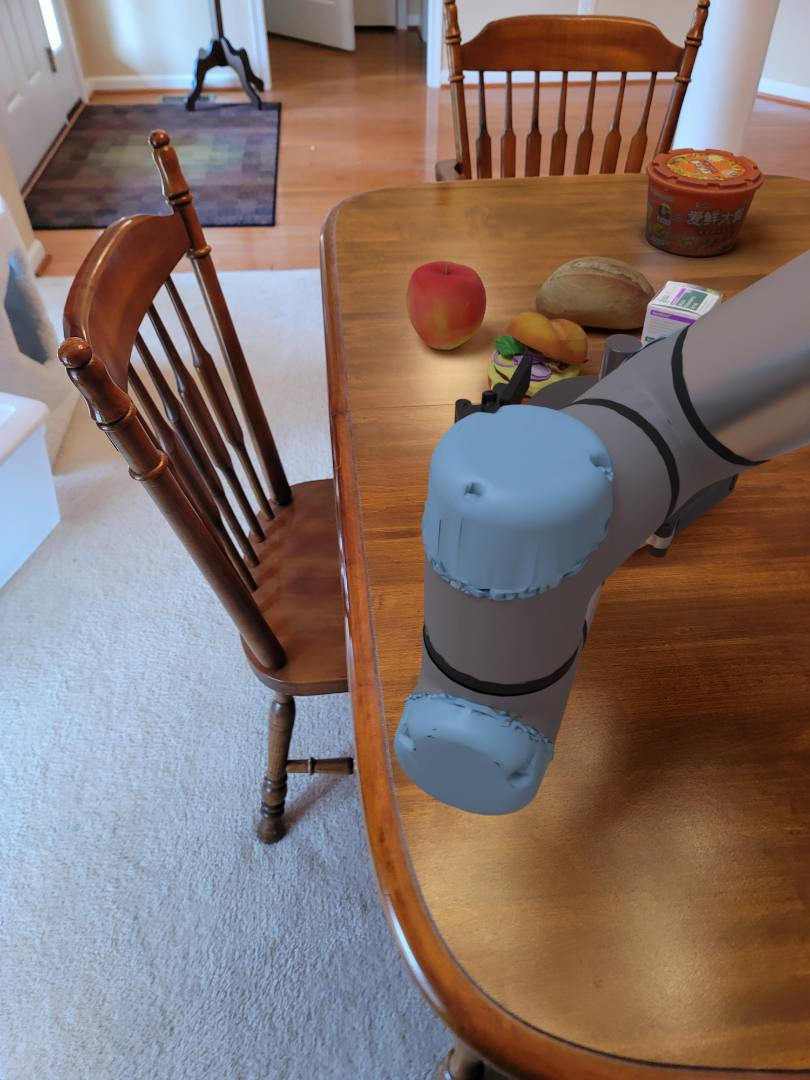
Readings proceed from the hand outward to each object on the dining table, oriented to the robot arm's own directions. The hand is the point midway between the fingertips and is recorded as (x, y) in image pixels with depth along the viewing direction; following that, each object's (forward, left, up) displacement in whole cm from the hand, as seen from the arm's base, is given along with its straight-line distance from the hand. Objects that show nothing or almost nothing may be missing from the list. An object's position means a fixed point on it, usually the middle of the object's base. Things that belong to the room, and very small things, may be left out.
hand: (612, 387), depth 64 cm
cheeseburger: (+21, -15, -17) cm, 30 cm away
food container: (+35, -62, -17) cm, 73 cm away
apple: (+35, -14, -17) cm, 41 cm away
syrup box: (+8, -21, -17) cm, 28 cm away
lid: (+3, -5, -7) cm, 9 cm away
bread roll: (+27, -32, -17) cm, 45 cm away
